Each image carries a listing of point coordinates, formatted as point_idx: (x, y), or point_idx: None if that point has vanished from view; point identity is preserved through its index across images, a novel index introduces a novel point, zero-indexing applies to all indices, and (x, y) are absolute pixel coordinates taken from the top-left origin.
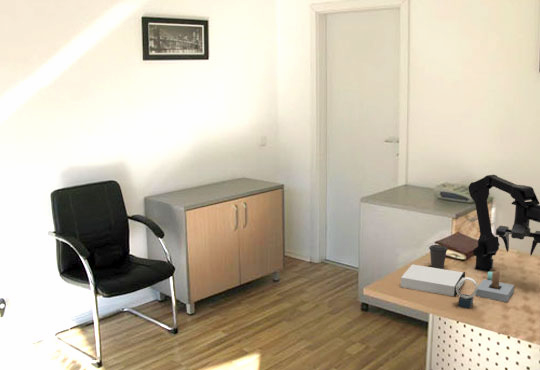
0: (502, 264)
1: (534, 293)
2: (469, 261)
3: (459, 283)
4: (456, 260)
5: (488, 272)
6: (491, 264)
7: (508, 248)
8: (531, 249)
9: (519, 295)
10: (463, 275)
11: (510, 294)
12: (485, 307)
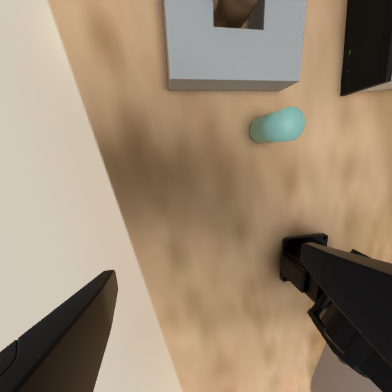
0: (258, 320)
1: (93, 122)
2: None
3: None
4: None
5: (301, 120)
6: (294, 263)
7: (319, 274)
8: (73, 317)
9: (137, 61)
10: (385, 42)
11: (163, 6)
12: None
